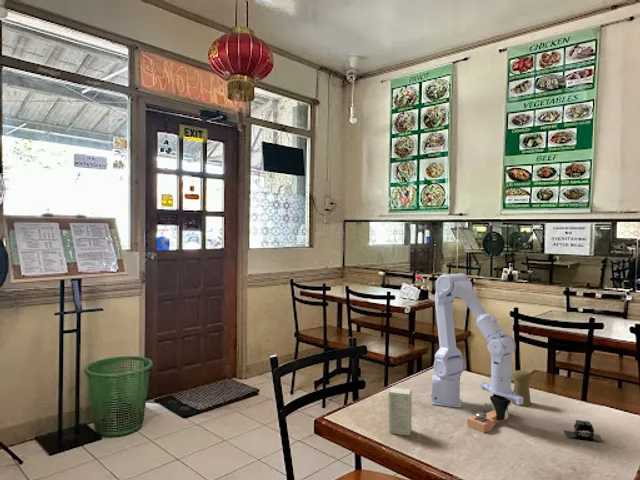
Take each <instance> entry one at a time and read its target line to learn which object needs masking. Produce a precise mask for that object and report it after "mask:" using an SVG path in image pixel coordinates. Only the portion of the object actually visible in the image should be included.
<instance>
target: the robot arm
mask: <svg viewBox="0 0 640 480" xmlns="http://www.w3.org/2000/svg"><path fill="white" fill-rule="evenodd" d="M455 298H459V299H462V301H463V302H464V303H465V304H466V306H467V307H468V308H469V310H470V311H471V313H472V314H473V315H474V316H475V318H476V322H475V325H476V326H477V328H478V329H479V331H480V332H481V334H482V335H483V338H485V340H486V342H487V343H488V344H487V345H486V348H487V350H488V352H489V354H490V359H491V361H490V363H491V364H490V383H488V382H485V381H484V382H480V383H479V386H480V387H479V388H480V390H481V391H486V392H488V393H491V394H492V395H490V396H489V399H490V401H491V402H492V403H493V405H494V406H493V405H492V406H493V408H494V409H495V411H496V418H497V420H498V421H501V420H503V421H505V420H504V418H505V412H506V409H507V407H508V408H509V406H510V405H509V404H510V402H511V403H512V401H513V402H515V403H516V404H518V405H520V404H523V397H521V396H519V395H518V394H516V393H515V392H513V388H512V360H513V359H512V353H514V352H515V350H516V348H517V346H516V345H517V344H516V342H515V340H514V338H513V337H512V336H511V335H510V334H507V333H506V332H505V331H504V330H503V328H502V327H501V325H500V324H499V323H498V319H497V318H496V317H495V316H494V315H492V314H490V313H487V312H486V309H485V307H484V306H483V304H482V303H481V301H480V300H479V298H478V296H477V295H476V293H475V291H474V288H473V283H472V281H470V279H469V277H468V275H466V274H465V273H462V272H460V273H449V274H448V273H446V274H445V273H444V274H441V275H440V276H438V278H437V279H436V280H435V293H434V306H435V314H436V323H437V324H436V325H437V334H438V344H439V349H438V350H437V351H436V353H435V354H434V362H433V370H434V373H435V374H432V378H431V379H432V380H431V391H430V397H431V404H432V405H434V406H435V405H436V406H443V407H444V406H445V407H452V408H462V402H461V401H462V400H461V396H460V395H461V393H460V392H461V377H462V373H463V372H465V369H466V363H465V360H464V359H463V355H462V351H461V350H460V349H459V348H458V347H457V342H456V332H455V322H454V313H453V312H454V311H453V304H452V301H453V300H455ZM508 405H509V406H508ZM518 405H517V406H518ZM501 422H502V421H501Z"/></svg>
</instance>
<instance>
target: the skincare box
mask: <svg viewBox="0 0 640 480" xmlns="http://www.w3.org/2000/svg"><path fill="white" fill-rule="evenodd" d="M412 410H413V409H412V388H404V387H395V386H391V387H390V388H389V390H388V433H390V434H397V435H402V436H411V433H412Z"/></svg>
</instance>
